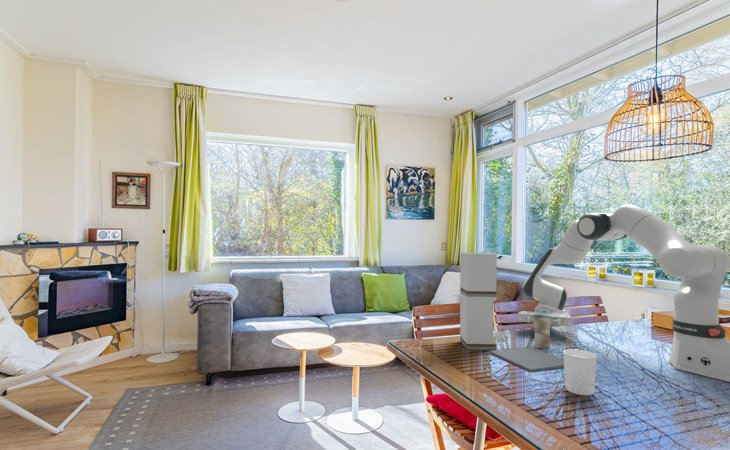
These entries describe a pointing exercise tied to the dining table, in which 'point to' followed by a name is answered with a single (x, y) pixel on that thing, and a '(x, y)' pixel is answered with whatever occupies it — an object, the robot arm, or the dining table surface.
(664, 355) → the dining table surface
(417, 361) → the dining table surface
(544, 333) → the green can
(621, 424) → the dining table surface
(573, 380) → the white cup
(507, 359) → the rubber mat
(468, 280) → the grey square tower
